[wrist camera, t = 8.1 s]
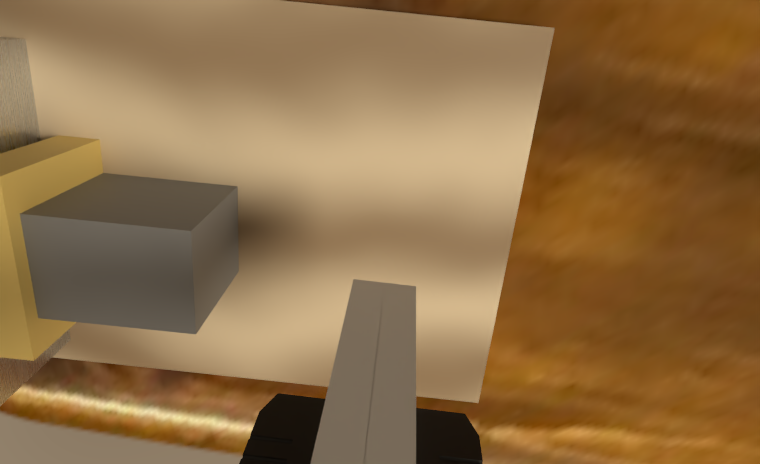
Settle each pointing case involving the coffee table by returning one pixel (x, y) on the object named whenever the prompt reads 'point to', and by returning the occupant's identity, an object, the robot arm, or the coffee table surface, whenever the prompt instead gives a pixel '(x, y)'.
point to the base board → (306, 164)
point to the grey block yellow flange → (106, 246)
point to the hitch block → (5, 133)
